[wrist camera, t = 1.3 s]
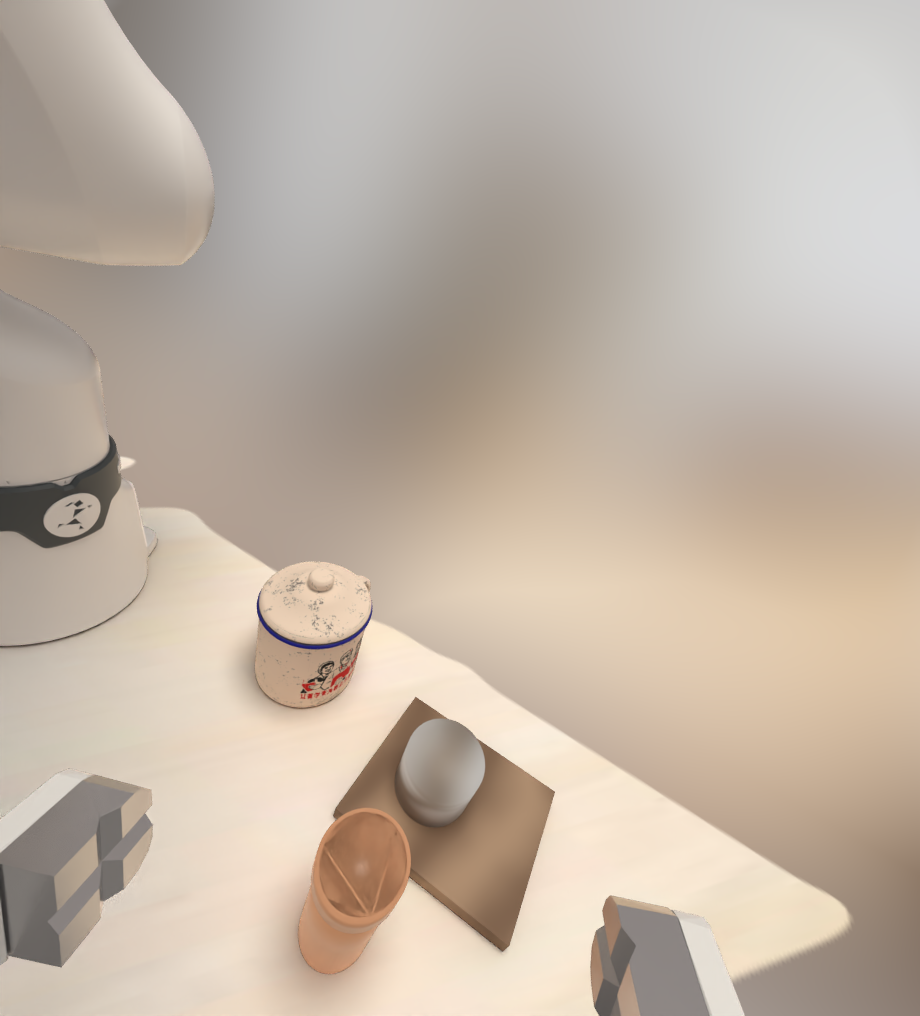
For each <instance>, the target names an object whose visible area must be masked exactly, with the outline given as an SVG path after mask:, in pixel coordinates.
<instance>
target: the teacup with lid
mask: <svg viewBox="0 0 920 1016" xmlns="http://www.w3.org/2000/svg"><path fill="white" fill-rule="evenodd" d="M370 587H371V583H370V581H369V579H367V578H366V577H364V576H357V575H355V574H354V573H353V572H351V571H349V570H348V569H345V568H344V567H341V566H338V565H335V564H331V563H326V562H302V563H298V564H294V565H291V566H288V567H286V568H284V569H282V570H280V571H278V572H277V573H275V574H274V575H273V576H272V577H271V578H270V579H269V580H268V581H267V582H266V583H265V585H264V586H263V588H262V589H261V591H260V593H259V596H258V600H257V613H258V617H259V625H258V637H257V648H256V660H255V675H256V679H257V681H258V684H259V686H260V687H261V689H262V690H263V691H264V692H265V694H267V695H268V696H269V697H270V698H271V699H273V700H275V701H276V702H278V703H281V704H283V705H286V706H291V707H301V708H302V707H312V706H317V705H320V704H323V703H325V702H328V701H329V700H331V699H333V698H334V697H336V696H337V695H338V694H340V693H341V692H342V691H343V690H344V688H345V687H346V686H347V684H348V683H349V681H350V679H351V677H352V674H353V670H354V667H355V663H356V659H357V656H358V652H359V648H360V644H361V641H362V637H363V633H364V630H365V628H366V626H367V625H368V623H369V621H370V618H371V615H372V600H371V596H370V593H369V591H370Z"/></svg>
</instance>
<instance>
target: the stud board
mask: <svg viewBox="0 0 920 1016" xmlns="http://www.w3.org/2000/svg"><path fill="white" fill-rule="evenodd" d="M554 793H555V792H554V791H553V790H552V789H550V788H549V787H547V786H546V785H544V784H543V783H541V782H540V781H538V780H537V779H535V778H534V777H532V776H531V775H529V774H528V773H527V772H525V771H524V770H522V769H521V768H519V767H518V766H516V765H515V764H513V763H512V762H510V761H509V760H507V759H506V758H505V757H503V756H502V755H500V754H499V753H497V752H496V751H494V750H493V749H491V748H490V747H488V746H487V745H485V744H484V743H483V742H481V741H480V740H478V739H477V738H476V737H475V736H474V735H473V733H472V732H471V731H470V730H469V729H467V728H466V727H465V726H463V725H462V724H460V723H458V722H456V721H453V720H449V719H447V718H446V717H444V716H443V715H441V714H440V713H438V712H437V711H436V710H434V709H433V708H431V707H430V706H428V705H427V704H425V703H424V702H422V701H421V700H419V699H418V698H416V697H415V699H414V700H413V702H412V703H411V704H410V706H409V707H408V708H407V710H406V711H405V713H404V714H403V715H402V717H401V718H400V720H399V721H398V722H397V724H396V725H395V727H394V728H393V729H392V731H391V732H390V734H389V735H388V736H387V738H386V739H385V740H384V742H383V743H382V745H381V746H380V747H379V749H378V750H377V752H376V753H375V754H374V756H373V757H372V759H371V760H370V761H369V763H368V764H367V766H366V767H365V768H364V770H363V771H362V772H361V774H360V775H359V777H358V778H357V779H356V781H355V782H354V784H353V785H352V786H351V788H350V789H349V791H348V792H347V793H346V795H345V796H344V798H343V799H342V800H341V802H340V803H339V804H338V806H337V807H336V809H335V812H334V815H333V816H334V817H335V818H337V819H338V818H340V817H341V816H342V815H344V814H346V813H347V812H350V811H352V810H355V809H359V808H374V809H378V810H381V811H383V812H385V813H387V814H389V815H390V816H391V817H393V818H394V819H395V820H396V821H397V822H398V824H399V825H400V826H401V828H402V829H403V831H404V833H405V835H406V838H407V840H408V843H409V848H410V855H411V867H410V874H409V877H410V878H412V879H413V880H414V881H415V882H417V883H418V884H419V885H420V886H422V887H423V888H424V889H425V890H427V891H428V892H429V893H430V894H432V895H433V896H434V897H435V898H437V899H438V900H439V901H440V902H442V903H443V904H444V905H445V906H447V907H448V908H449V909H450V910H452V911H453V912H454V913H455V914H457V915H458V916H459V917H460V918H462V919H463V920H464V921H465V922H467V923H468V924H469V925H470V926H472V927H473V928H474V929H475V930H477V931H478V932H479V933H480V934H482V935H483V936H484V937H485V938H487V939H488V940H489V941H490V942H492V943H493V944H494V945H495V946H497V947H498V948H499V949H500V950H502V951H504V950H505V949H506V948H507V947H509V945H510V942H511V938H512V935H513V931H514V928H515V925H516V921H517V918H518V915H519V911H520V908H521V904H522V901H523V898H524V894H525V891H526V888H527V884H528V881H529V878H530V874H531V871H532V867H533V864H534V861H535V857H536V854H537V851H538V847H539V844H540V840H541V837H542V834H543V830H544V827H545V824H546V820H547V817H548V814H549V810H550V807H551V803H552V800H553V797H554Z"/></svg>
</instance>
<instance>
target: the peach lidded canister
mask: <svg viewBox="0 0 920 1016" xmlns="http://www.w3.org/2000/svg"><path fill="white" fill-rule="evenodd" d="M410 867H411V855H410V848H409V843H408V840H407V838H406V835H405V833H404V831H403V829H402V828H401V826H400V825H399V824H398V822H397V821H396V820H395V819H394V818H393V817H391V816H390V815H389V814H387V813H385V812H383V811H381V810H378V809H374V808H359V809H355V810H352V811H350V812H347V813H346V814H344V815H342V816H341V817H340V818H338V819H337V820H336V821H335V822H334V823H333V824H332V825H331V826H330V827H329V829H328V830H327V831H326V833H325V835H324V836H323V838H322V840H321V842H320V845H319V848H318V851H317V854H316V857H315V861H314V864H313V868H312V875H311V886H310V889H309V892H308V896H307V899H306V902H305V905H304V908H303V911H302V914H301V918H300V922H299V929H298V939H299V946H300V950H301V953H302V955H303V957H304V959H305V961H306V962H307V963H308V964H309V966H310V967H312V968H313V969H314V970H316V971H318V972H320V973H323V974H335V973H339V972H341V971H343V970H345V969H347V968H348V967H350V966H351V965H352V964H353V963H354V962H355V961H356V960H357V959H358V958H359V956H360V955H361V953H362V952H363V950H364V948H365V947H366V945H367V943H368V942H369V940H370V938H371V937H372V935H373V934H374V932H375V930H376V929H377V927H378V925H379V924H380V923H382V922H383V921H384V920H385V919H386V918H387V917H388V916H389V914H390V913H391V912H392V910H393V909H394V907H395V905H396V904H397V902H398V901H399V899H400V897H401V896H402V894H403V892H404V890H405V887H406V885H407V882H408V879H409V874H410Z"/></svg>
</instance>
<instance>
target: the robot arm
mask: <svg viewBox="0 0 920 1016" xmlns="http://www.w3.org/2000/svg"><path fill="white" fill-rule="evenodd" d="M214 195H215V193H214V182H213V177H212V172H211V167H210V164H209V161H208V158H207V155H206V152H205V149H204V147H203V145H202V142H201V140H200V138H199V136H198V134H197V132H196V131H195V128H194V126H193V125H192V123H191V122H190V120H189V118H188V117H187V115H186V114H185V112H184V110H183V109H182V108H181V107H180V105H179V104H178V102H177V101H176V100H175V99H174V97H173V96H172V95H171V94H170V93H169V92H168V91H167V90H166V88H165V87H164V86H163V85H162V84H161V83H160V82H159V81H158V79H157V78H156V77H155V76H154V75H153V73H152V72H151V71H150V69H149V68H148V67H147V66H146V64H145V63H144V62H143V60H142V59H141V58H140V56H139V55H138V54H137V52H136V51H135V49H134V48H133V46H132V45H131V44H130V42H129V41H128V39H127V38H126V36H125V35H124V33H123V32H122V30H121V28H120V27H119V25H118V23H117V22H116V20H115V19H114V17H113V15H112V14H111V12H110V10H109V9H108V7H107V5H106V3H105V2H104V0H0V247H4V248H9V249H16V250H21V251H26V252H32V253H38V254H43V255H49V256H55V257H61V258H66V259H72V260H77V261H83V262H89V263H95V264H100V265H123V266H126V265H127V266H163V265H164V266H166V265H182V264H183V263H185V262H186V261H187V260H189V259H190V258H191V257H192V256H193V255H194V254H195V253H196V252H197V250H198V249H199V248H200V247H201V245H202V244H203V242H204V240H205V239H206V237H207V235H208V232H209V230H210V227H211V224H212V219H213V214H214V203H215V196H214ZM120 469H121V462H120V456H119V454H118V452H117V448H116V444H115V442H114V440H113V438H112V437H111V436H110V435H109V434H108V426H107V419H106V411H105V404H104V397H103V389H102V381H101V374H100V366H99V363H98V360H97V358H96V356H95V354H94V353H93V351H92V349H91V348H90V347H89V345H88V344H87V343H86V342H85V340H84V339H83V338H82V337H81V336H79V335H78V334H77V333H76V332H75V331H74V330H73V329H71V328H70V327H69V326H67V325H66V324H65V323H63V322H62V321H60V320H59V319H57V318H56V317H54V316H52V315H51V314H49V313H47V312H45V311H43V310H41V309H39V308H37V307H35V306H33V305H30V304H28V303H26V302H24V301H22V300H20V299H18V298H15V297H13V296H12V295H10V294H7V293H5V292H4V291H2V290H0V646H12V645H26V644H34V643H41V642H46V641H51V640H55V639H59V638H63V637H67V636H70V635H73V634H76V633H79V632H81V631H84V630H86V629H89V628H91V627H93V626H96V625H98V624H100V623H102V622H104V621H105V620H107V619H109V618H111V617H112V616H114V615H115V614H117V613H118V612H120V611H121V610H122V609H124V608H125V607H126V606H127V605H128V604H129V603H130V602H131V601H132V600H133V599H134V598H135V597H136V596H137V595H138V594H139V592H140V591H141V589H142V588H143V586H144V583H145V581H146V578H147V572H148V569H147V560H148V556H149V555H150V553H151V552H152V551H153V549H154V548H155V546H156V544H157V537H156V533H155V532H154V531H153V530H151V529H149V528H147V527H145V526H143V523H142V518H141V513H140V509H139V505H138V500H137V496H136V492H135V488H134V486H133V484H132V483H131V482H130V481H127V480H125V479H124V478H122V477H121V471H120ZM151 806H152V793H151V790H150V789H147V788H143V787H139V786H135V785H132V784H128V783H124V782H120V781H117V780H113V779H109V778H105V777H102V776H98V775H94V774H90V773H86V772H82V771H78V770H74V769H70V768H69V769H66V770H64V771H62V772H59V773H57V774H55V775H54V776H53V777H51V778H50V779H49V780H48V781H46V782H45V783H44V784H43V785H42V786H40V787H39V788H38V789H37V790H35V791H34V792H33V793H32V794H30V795H29V796H28V797H27V798H26V799H24V800H23V801H22V802H21V803H19V804H18V805H17V806H16V807H14V808H13V809H12V810H11V811H10V812H8V813H7V814H6V815H5V816H3V817H2V818H1V819H0V965H1V964H2V963H4V962H5V961H7V959H8V956H12V957H17V958H21V959H26V960H30V961H35V962H39V963H44V964H48V965H53V966H57V967H62V966H63V965H64V964H65V962H66V961H67V960H68V959H69V957H70V956H71V955H72V954H73V952H74V951H75V950H76V949H77V947H78V946H79V945H80V944H81V942H82V941H83V940H84V939H85V937H86V936H87V935H88V934H89V932H90V931H91V930H92V929H93V927H94V926H95V925H96V924H97V922H98V921H99V920H100V918H101V912H102V907H103V901H105V900H107V899H108V898H110V897H112V896H113V895H115V894H117V893H118V892H120V891H121V890H123V889H124V888H125V887H126V886H127V884H128V883H129V882H130V880H131V879H132V878H133V876H134V875H135V874H136V873H137V871H138V870H139V868H140V866H141V864H142V862H143V860H144V858H145V856H146V854H147V852H148V851H149V847H150V843H151V839H152V831H153V825H152V823H151V822H150V820H149V819H148V817H147V816H146V814H145V812H146V811H147V810H148V809H149V808H150V807H151ZM602 912H603V918H604V924H605V925H604V926H603V927H601V928H599V929H598V930H596V933H595V936H594V940H593V944H592V951H591V966H590V969H591V986H592V994H593V1002H594V1007H595V1009H596V1011H597V1013H598V1014H599V1016H745V1014H744V1012H743V1009H742V1007H741V1004H740V1002H739V999H738V996H737V994H736V991H735V989H734V986H733V984H732V981H731V978H730V976H729V973H728V971H727V968H726V966H725V963H724V960H723V958H722V955H721V953H720V950H719V948H718V945H717V942H716V940H715V937H714V935H713V932H712V930H711V927H710V925H709V924H708V922H707V921H706V920H705V918H704V917H701V916H698V915H694V914H689V913H685V912H680V911H676V910H670V909H669V908H667V907H662V906H658V905H653V904H648V903H644V902H639V901H634V900H630V899H625V898H620V897H616V896H611V895H610V896H609V897H608V898H607V899H606V901H605V904H604V907H603V910H602ZM7 955H8V956H7Z"/></svg>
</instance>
